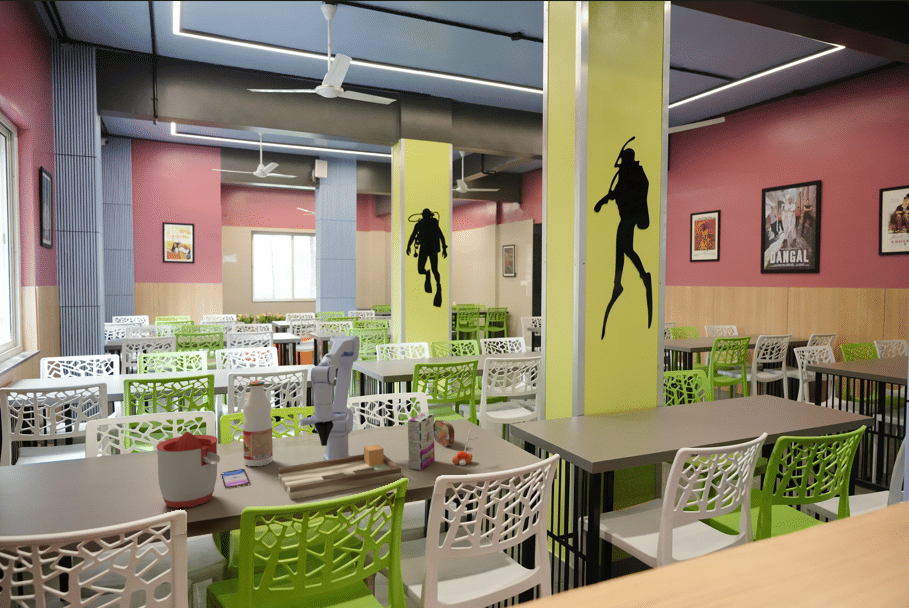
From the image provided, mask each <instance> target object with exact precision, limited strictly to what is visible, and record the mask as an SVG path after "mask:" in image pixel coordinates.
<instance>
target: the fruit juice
mask: <svg viewBox="0 0 909 608" xmlns="http://www.w3.org/2000/svg"><path fill="white" fill-rule="evenodd" d="M248 386H249V394H248V396H247V400H246V401H245V402H244V404H243V405H242V406H243V408H242V412H243V415H244V418H243V419H244V420H243V422H242V437H243V441H242V442H243V445H242V446H243V464H244V465H245V466H246V465H248V466H247V467H250V466H258V467H263V465H264V466H267V465H269V463H270V464H271V463H273V460H274V459H273V458H274V457H273V455H274V454H273V453H274V452H273V449H274V448H273V447H274V446H273V421H272V417H271V411H272V403H271V401H270V400H269V398H267V395H266V393H265V390H264V387H265V381H264V380H254V381H250V382H249V383H248Z"/></svg>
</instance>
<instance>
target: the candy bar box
mask: <svg viewBox="0 0 909 608" xmlns="http://www.w3.org/2000/svg"><path fill="white" fill-rule="evenodd" d="M434 423H435V419H434V413H428V412H421V413H419V414H417V415H415V416H414V417H412V418H410V419H408V420H407V433H408V434H407V435H408V437H407V438H408V440H407V441H408V468H409V470H414V471H423V470H425V468H426V467H428V466H429V465H430V464H432V463H433V462H434V461H435V457H436V456H435V438H434Z"/></svg>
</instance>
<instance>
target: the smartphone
mask: <svg viewBox="0 0 909 608" xmlns="http://www.w3.org/2000/svg"><path fill="white" fill-rule="evenodd" d="M246 471H247V470H246V469H244V468H239V469H234V470H229V471H224V472H222V473H224V474H221V473H220V476H221V475H222V479H223V482H222V484H223V483H224V485H223V488H224V487H225V488H229V489H231V488H230V487H235V488H238V487H237V486H241V487H244V486H243V485H247V486H249V485H248V484H250V485H251V481H250V478H249V476H248V473H247V472H246ZM222 479H221V480H222ZM225 488H224V489H225Z"/></svg>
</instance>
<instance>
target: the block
mask: <svg viewBox="0 0 909 608" xmlns="http://www.w3.org/2000/svg"><path fill="white" fill-rule="evenodd" d="M363 454H364V462H365V463H366V464H367V465H368V466H372V465H378V464H384V455H385V454H384V447H382V446H381V445H379V444H374V445H368V446H364V447H363Z"/></svg>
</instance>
